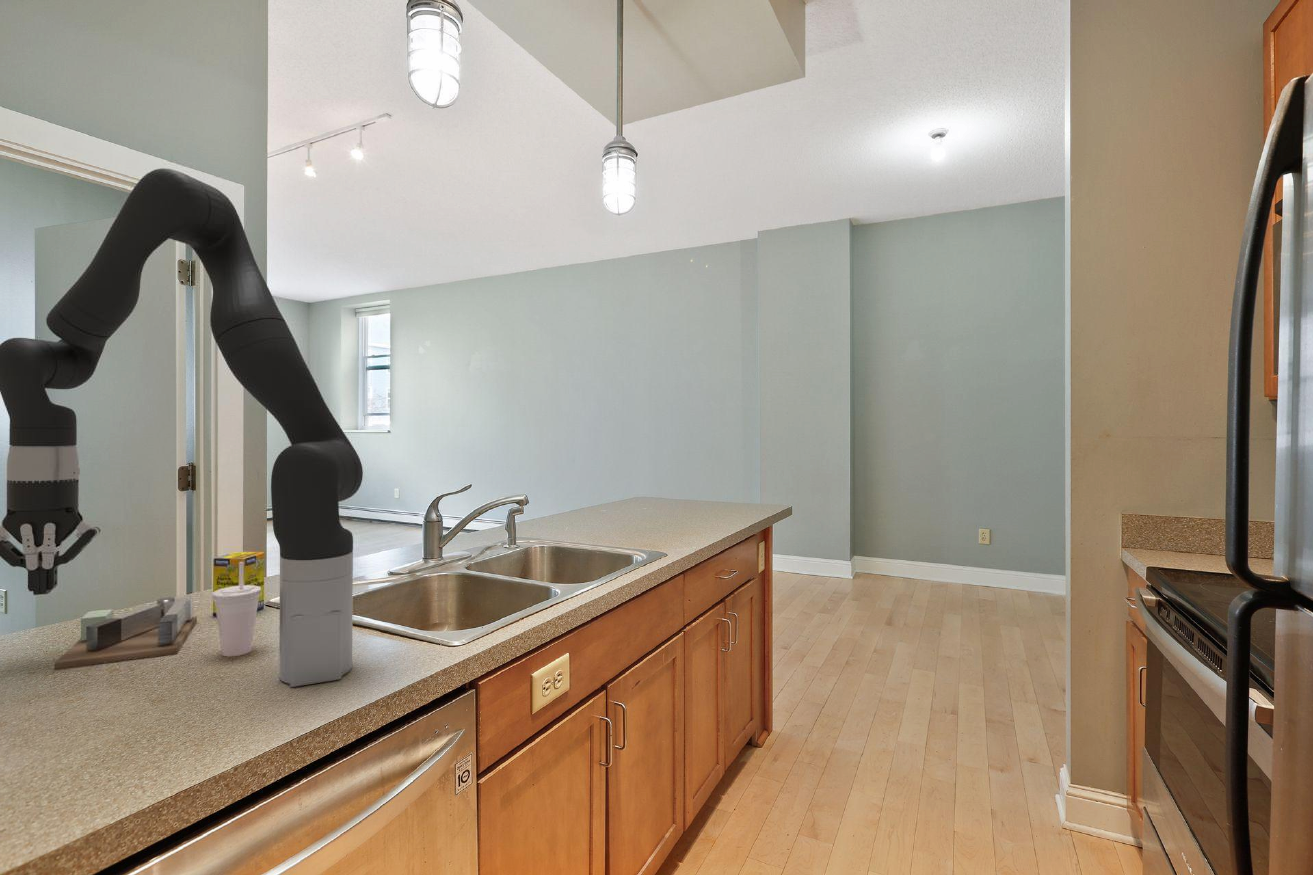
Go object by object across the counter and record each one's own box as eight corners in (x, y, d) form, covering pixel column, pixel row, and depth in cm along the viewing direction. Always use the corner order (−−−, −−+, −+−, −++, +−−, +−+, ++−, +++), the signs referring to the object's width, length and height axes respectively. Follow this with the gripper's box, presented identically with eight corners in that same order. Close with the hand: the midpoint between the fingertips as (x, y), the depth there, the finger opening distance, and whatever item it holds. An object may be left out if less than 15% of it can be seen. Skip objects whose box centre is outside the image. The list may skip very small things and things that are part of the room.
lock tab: (105, 637, 98) (105, 615, 98) (80, 640, 96) (80, 618, 96) (113, 630, 101) (113, 609, 101) (89, 632, 100) (89, 611, 100)
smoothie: (266, 652, 96) (266, 562, 96) (217, 663, 91) (217, 569, 91) (254, 641, 101) (255, 556, 100) (207, 651, 96) (207, 562, 96)
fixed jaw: (175, 644, 96) (175, 619, 96) (136, 649, 94) (136, 623, 94) (193, 617, 109) (193, 595, 109) (158, 621, 107) (158, 598, 106)
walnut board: (176, 653, 95) (176, 647, 95) (54, 669, 88) (54, 662, 88) (196, 621, 110) (196, 615, 110) (93, 632, 103) (93, 627, 103)
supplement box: (244, 618, 112) (244, 558, 112) (211, 617, 112) (211, 557, 112) (265, 608, 118) (265, 551, 118) (234, 607, 118) (234, 550, 118)
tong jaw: (97, 650, 93) (97, 626, 92) (86, 650, 93) (86, 626, 93) (161, 625, 104) (161, 604, 104) (151, 625, 104) (151, 603, 104)
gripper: (-33, 479, 84) (-34, 605, 85) (94, 478, 91) (93, 595, 91) (-7, 474, 91) (-8, 591, 91) (109, 473, 97) (108, 582, 98)
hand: (43, 593), depth 91 cm, fingers closed
